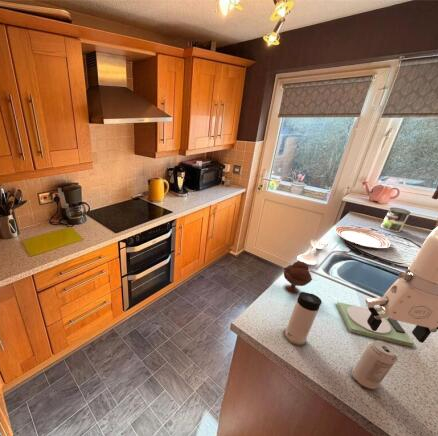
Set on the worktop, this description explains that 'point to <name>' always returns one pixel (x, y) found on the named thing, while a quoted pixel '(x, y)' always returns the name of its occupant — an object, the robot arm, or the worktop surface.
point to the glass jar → (395, 219)
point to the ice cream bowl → (297, 276)
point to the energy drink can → (374, 364)
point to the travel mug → (302, 318)
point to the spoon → (311, 254)
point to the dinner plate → (362, 237)
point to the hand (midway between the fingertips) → (393, 332)
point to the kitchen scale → (358, 324)
